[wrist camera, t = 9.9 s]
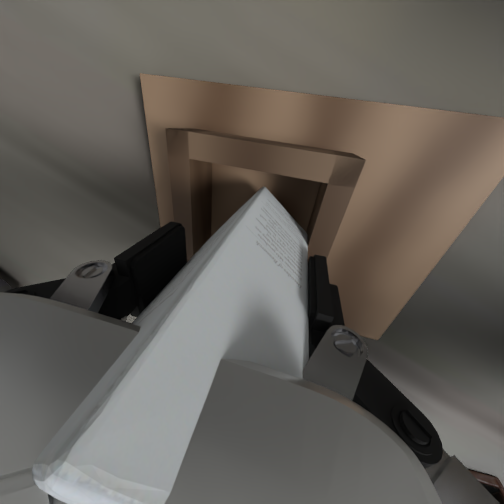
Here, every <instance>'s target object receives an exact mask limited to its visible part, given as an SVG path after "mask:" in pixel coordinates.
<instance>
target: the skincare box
mask: <svg viewBox="0 0 504 504" xmlns="http://www.w3.org/2000/svg"><path fill="white" fill-rule="evenodd" d="M132 324H134V325H138V326H141V327H140V331H139V333H138V334H137V335H136V337H135V338H134V339H133V340H132V342H131V343H130V344H129V345H128V347H127V348H126V349H125V350H124V351H123V353H122V354H121V355H120V356H119V358H118V359H117V360H116V361H115V363H114V364H113V365H112V366H111V367H110V369H109V370H108V371H107V372H106V374H105V375H104V376H103V377H102V379H101V380H100V381H99V382H98V384H97V385H96V386H95V387H94V388H93V390H92V391H91V392H90V393H89V395H88V396H87V397H86V398H85V399H84V401H83V402H82V403H81V404H80V405H79V407H78V408H77V409H76V410H75V412H74V413H73V414H72V415H71V416H70V418H69V419H68V420H67V421H66V422H65V424H64V425H63V426H62V427H61V429H60V430H59V431H58V432H57V433H56V435H55V436H54V437H53V438H52V440H51V441H50V442H49V443H48V444H47V446H46V447H45V448H44V449H43V450H42V452H41V453H40V455H39V456H38V458H37V459H36V461H35V462H34V464H33V468H32V479H33V481H34V483H35V485H37V486H38V488H39V489H41V490H43V491H44V492H46V493H48V494H49V495H51V496H52V497H54V498H56V499H58V500H60V501H62V502H64V503H67V504H164V503H165V502H166V500H167V498H168V496H169V495H170V493H171V490H172V488H173V485H174V482H175V479H176V477H177V474H178V471H179V469H180V466H181V463H182V461H183V458H184V455H185V453H186V450H187V447H188V444H189V442H190V439H191V437H192V434H193V432H194V429H195V426H196V424H197V421H198V418H199V416H200V413H201V411H202V408H203V405H204V403H205V400H206V398H207V395H208V392H209V390H210V387H211V384H212V382H213V379H214V376H215V373H216V371H217V368H218V365H219V363H220V360H221V359H235V360H243V361H251V362H254V363H257V364H260V365H263V366H266V367H269V368H272V369H275V370H278V371H281V372H284V373H287V374H290V375H293V376H295V377H298V378H301V379H303V369H304V367H305V365H306V364H307V362H308V361H309V324H308V236H307V233H306V232H305V230H304V229H303V228H302V227H301V226H300V225H299V224H298V223H297V222H296V221H295V220H294V219H293V218H292V216H291V215H290V214H289V213H288V212H287V211H286V210H285V208H284V207H283V206H282V205H281V204H280V203H279V202H278V200H277V199H276V198H275V197H274V196H273V195H272V194H271V192H270V191H269V190H268V189H267V188H266V187H262V188H261V189H260V190H259V191H257V192H256V193H255V194H254V195H253V196H252V197H251V198H250V199H249V200H248V201H247V202H246V203H245V204H244V205H243V206H242V207H241V208H240V209H239V210H238V211H237V212H236V213H235V214H234V215H232V216H231V217H230V218H229V219H228V220H227V221H226V222H225V223H224V224H223V225H222V226H221V227H220V228H219V229H218V230H217V231H216V232H215V233H214V234H213V235H212V236H211V237H210V238H209V239H208V240H207V241H206V242H205V244H204V245H203V246H202V247H201V248H200V249H199V250H198V251H197V252H196V253H195V254H194V256H193V257H192V258H191V259H190V260H189V261H188V262H187V263H186V264H185V266H184V267H183V268H182V269H181V270H180V271H179V272H178V273H177V274H176V275H175V277H174V278H173V279H172V280H171V281H170V282H169V283H168V284H167V285H166V286H165V288H164V289H163V290H162V291H161V292H160V293H159V294H158V295H157V296H156V297H155V299H154V300H153V301H152V302H151V303H150V304H149V305H148V306H147V307H146V308H145V309H144V311H143V312H142V313H141V314H140V315H139V316H138V317H137V318H136V319H135V320H134V321H133V323H132Z"/></svg>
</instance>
